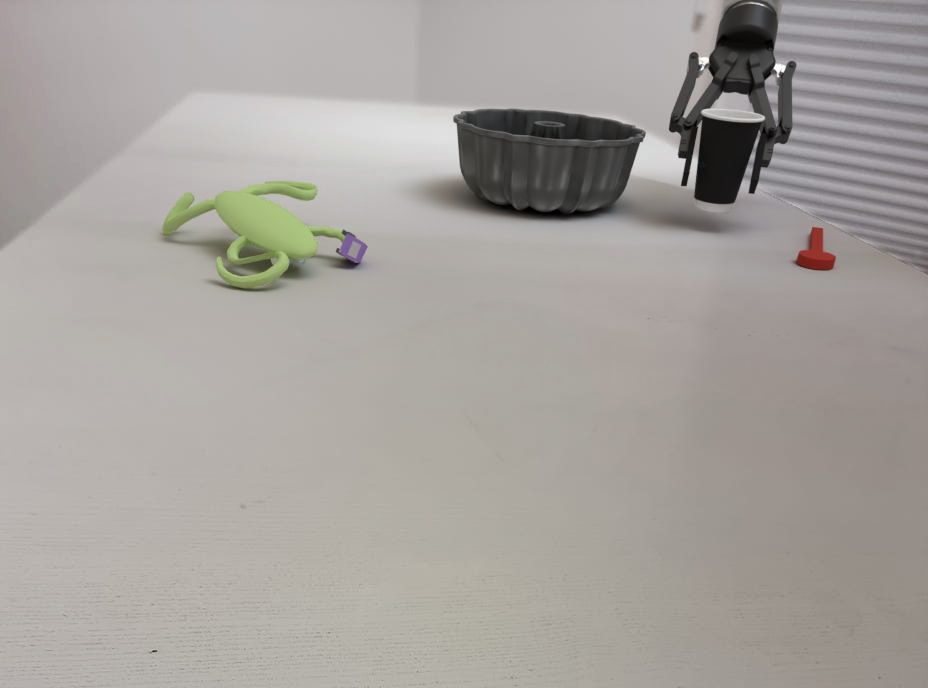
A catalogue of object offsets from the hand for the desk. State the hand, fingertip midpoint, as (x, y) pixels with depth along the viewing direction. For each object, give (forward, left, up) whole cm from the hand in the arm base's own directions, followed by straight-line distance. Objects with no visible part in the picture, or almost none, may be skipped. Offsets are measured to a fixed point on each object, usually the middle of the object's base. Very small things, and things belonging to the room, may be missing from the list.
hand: (719, 183), depth 117 cm
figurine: (+46, +36, -6) cm, 59 cm away
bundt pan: (+24, -6, -7) cm, 26 cm away
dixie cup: (0, -3, -4) cm, 5 cm away
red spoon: (-14, +1, -6) cm, 15 cm away
